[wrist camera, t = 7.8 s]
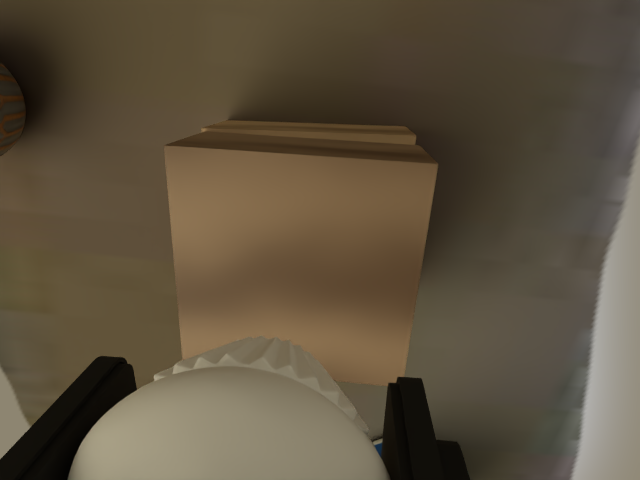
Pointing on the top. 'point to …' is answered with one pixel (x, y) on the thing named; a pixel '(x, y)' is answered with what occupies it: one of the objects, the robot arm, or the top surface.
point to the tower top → (300, 246)
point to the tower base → (319, 131)
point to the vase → (10, 110)
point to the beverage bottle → (378, 445)
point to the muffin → (233, 422)
